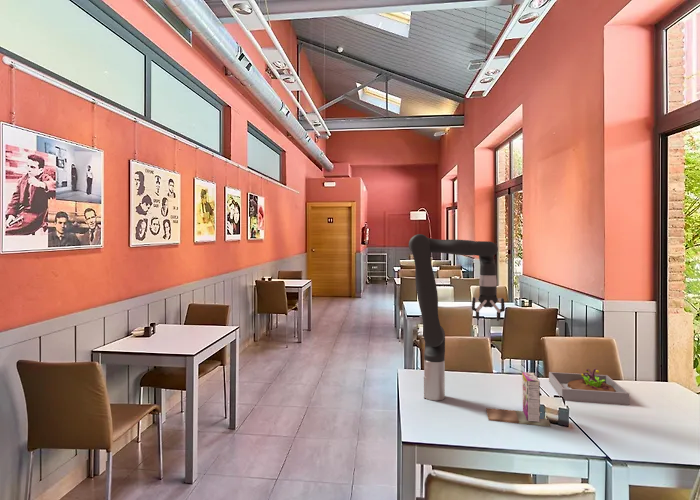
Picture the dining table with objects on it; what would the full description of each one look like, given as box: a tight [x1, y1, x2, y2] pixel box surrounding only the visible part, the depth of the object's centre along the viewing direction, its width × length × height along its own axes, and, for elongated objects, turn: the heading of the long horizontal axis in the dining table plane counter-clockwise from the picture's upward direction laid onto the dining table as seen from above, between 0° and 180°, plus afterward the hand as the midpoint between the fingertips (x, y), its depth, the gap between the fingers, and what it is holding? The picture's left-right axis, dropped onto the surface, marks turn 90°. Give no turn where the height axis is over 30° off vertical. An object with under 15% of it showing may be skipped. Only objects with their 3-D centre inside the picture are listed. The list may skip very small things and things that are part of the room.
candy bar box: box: [521, 371, 541, 422], centre depth 170 cm, size 11×5×16 cm, turn 167°
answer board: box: [485, 408, 551, 427], centre depth 172 cm, size 23×11×2 cm, turn 76°
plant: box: [567, 368, 616, 392], centre depth 205 cm, size 20×20×11 cm
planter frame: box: [548, 371, 630, 406], centre depth 201 cm, size 27×27×5 cm
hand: (488, 320), depth 194 cm, fingers open, 8 cm apart
